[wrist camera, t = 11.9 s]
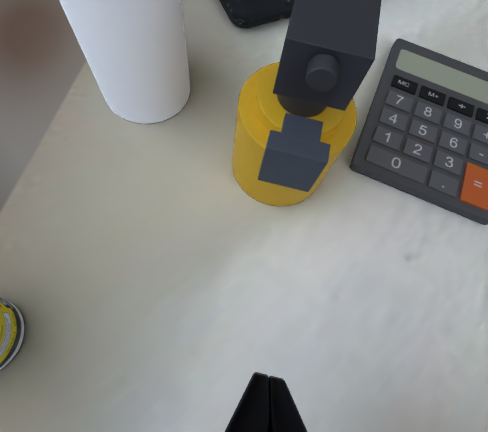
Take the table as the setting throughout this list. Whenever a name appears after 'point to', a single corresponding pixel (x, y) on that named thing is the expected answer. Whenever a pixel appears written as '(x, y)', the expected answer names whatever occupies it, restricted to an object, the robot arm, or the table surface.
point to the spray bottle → (306, 88)
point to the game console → (256, 11)
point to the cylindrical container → (135, 54)
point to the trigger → (295, 154)
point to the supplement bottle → (9, 331)
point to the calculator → (429, 130)
